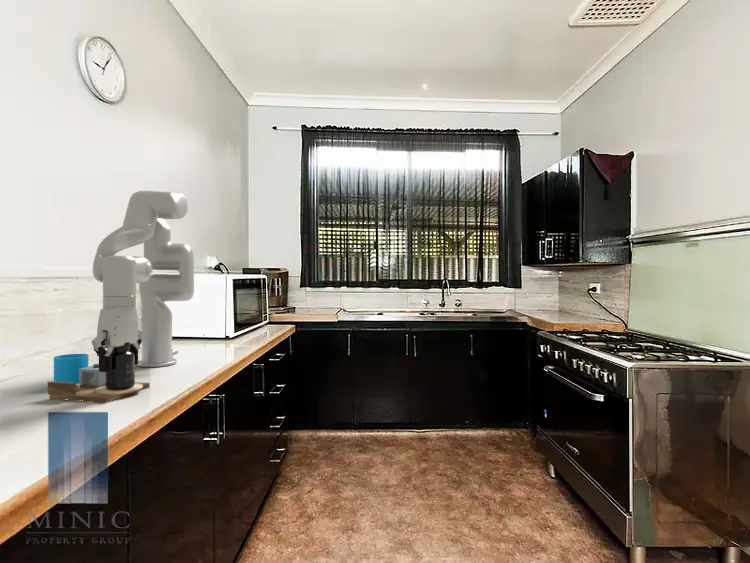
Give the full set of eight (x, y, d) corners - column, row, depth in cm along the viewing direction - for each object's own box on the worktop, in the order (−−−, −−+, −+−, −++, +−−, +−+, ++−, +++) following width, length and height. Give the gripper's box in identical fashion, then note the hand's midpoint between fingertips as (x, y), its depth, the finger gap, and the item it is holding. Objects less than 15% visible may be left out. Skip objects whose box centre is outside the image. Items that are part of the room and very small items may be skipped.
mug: (81, 387, 125) (81, 358, 124) (47, 389, 123) (48, 359, 123) (97, 378, 136) (97, 351, 136) (67, 379, 134) (67, 352, 134)
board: (97, 384, 128) (97, 369, 128) (157, 387, 125) (157, 372, 125) (47, 399, 112) (47, 382, 112) (115, 403, 109) (115, 386, 109)
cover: (96, 379, 127) (96, 361, 127) (115, 380, 126) (115, 362, 126) (78, 384, 121) (78, 365, 121) (98, 385, 120) (98, 366, 120)
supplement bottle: (130, 383, 123) (130, 339, 123) (138, 387, 118) (138, 342, 118) (101, 387, 118) (101, 341, 118) (109, 392, 114) (109, 344, 113)
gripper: (129, 300, 127) (129, 361, 127) (80, 304, 110) (79, 374, 110) (154, 301, 126) (153, 362, 126) (107, 305, 109) (107, 375, 109)
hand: (119, 368), depth 118 cm, fingers open, 9 cm apart
